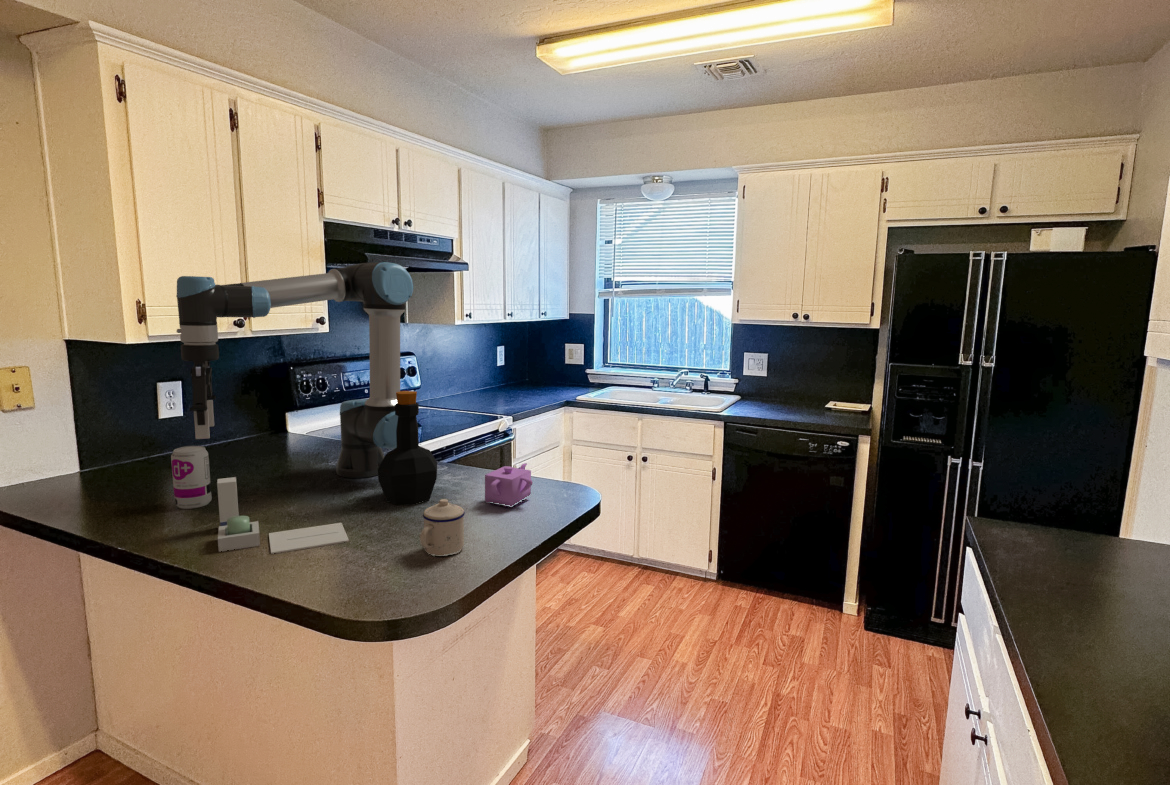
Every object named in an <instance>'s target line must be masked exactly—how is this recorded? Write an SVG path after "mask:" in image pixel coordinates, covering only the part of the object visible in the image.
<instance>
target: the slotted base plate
mask: <svg viewBox="0 0 1170 785" xmlns="http://www.w3.org/2000/svg"><path fill="white" fill-rule="evenodd" d="M268 538H269V547H270V554H271V555H275V554H274V553H276V554H281V552H282V553H288V552H294V551H299V550H305V549H313V548H319V547H320V548H321V547H325V546H331V545H336V544H337V545H338V544H343V543H344V542H345V543H349V542H350V540H349V539H350V538H349V537H348V535H347V533H346V529H345V528H344V526H343V523H342V522H336V523H331V524H322V525H317V526H309V527H302V528H301V527H300V528H295V529H288V530H282V531H281V530H280V531H276V532H269V533H268Z"/></svg>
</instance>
